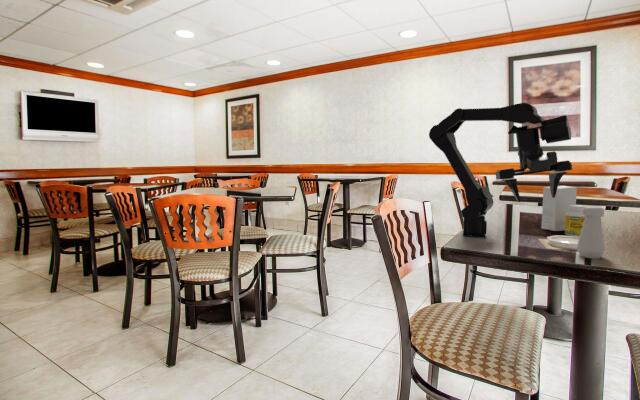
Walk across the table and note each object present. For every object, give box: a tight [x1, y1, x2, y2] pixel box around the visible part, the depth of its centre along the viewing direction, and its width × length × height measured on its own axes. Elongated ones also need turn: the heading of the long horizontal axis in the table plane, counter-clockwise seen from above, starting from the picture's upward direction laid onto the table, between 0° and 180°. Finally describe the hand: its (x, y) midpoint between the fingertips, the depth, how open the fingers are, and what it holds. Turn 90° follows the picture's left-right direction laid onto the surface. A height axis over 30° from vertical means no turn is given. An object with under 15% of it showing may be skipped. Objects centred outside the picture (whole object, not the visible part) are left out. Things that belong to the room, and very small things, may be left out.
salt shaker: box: [576, 205, 606, 260], centre depth 92 cm, size 6×6×13 cm
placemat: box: [537, 238, 608, 253], centre depth 104 cm, size 14×12×1 cm
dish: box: [546, 234, 580, 251], centre depth 104 cm, size 11×11×2 cm
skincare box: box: [540, 185, 578, 232], centre depth 124 cm, size 8×6×15 cm
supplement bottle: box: [564, 204, 585, 237], centre depth 116 cm, size 5×5×10 cm
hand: (535, 199), depth 107 cm, fingers open, 9 cm apart
